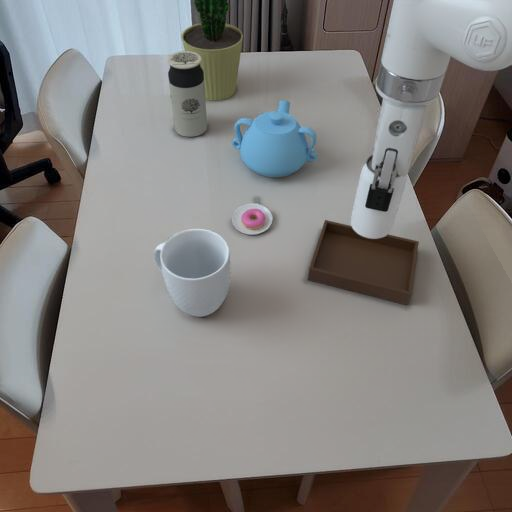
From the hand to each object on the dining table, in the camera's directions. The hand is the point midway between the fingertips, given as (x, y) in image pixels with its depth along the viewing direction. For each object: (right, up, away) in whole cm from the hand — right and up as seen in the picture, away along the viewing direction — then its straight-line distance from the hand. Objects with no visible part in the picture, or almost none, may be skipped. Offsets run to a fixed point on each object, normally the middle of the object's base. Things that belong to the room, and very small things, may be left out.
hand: (379, 191), depth 72 cm
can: (0, -5, +5) cm, 7 cm away
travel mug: (-34, +22, +50) cm, 65 cm away
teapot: (-14, +14, +43) cm, 47 cm away
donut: (-19, -1, +30) cm, 35 cm away
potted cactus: (-29, +36, +62) cm, 78 cm away
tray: (+2, -11, +21) cm, 24 cm away
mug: (-29, -17, +16) cm, 37 cm away
